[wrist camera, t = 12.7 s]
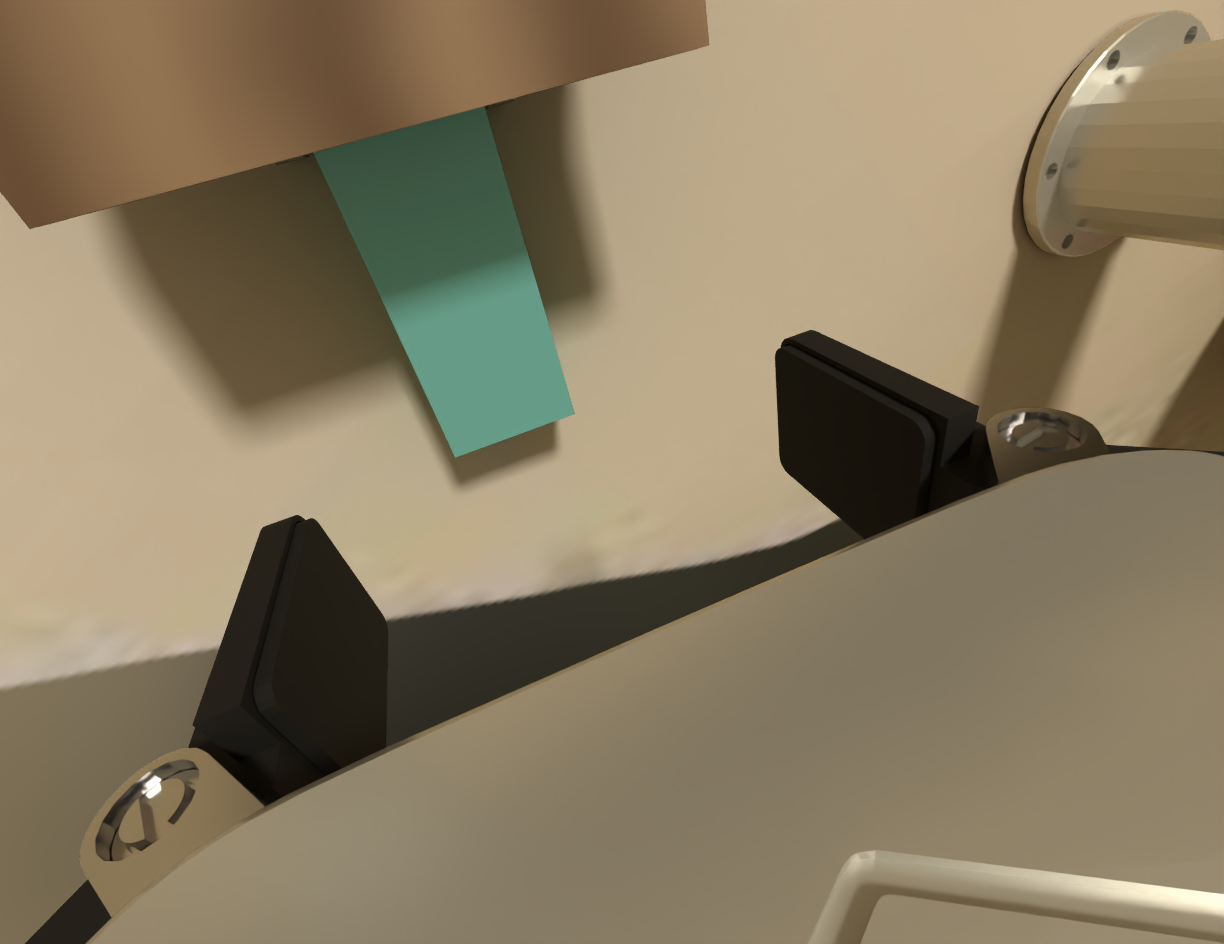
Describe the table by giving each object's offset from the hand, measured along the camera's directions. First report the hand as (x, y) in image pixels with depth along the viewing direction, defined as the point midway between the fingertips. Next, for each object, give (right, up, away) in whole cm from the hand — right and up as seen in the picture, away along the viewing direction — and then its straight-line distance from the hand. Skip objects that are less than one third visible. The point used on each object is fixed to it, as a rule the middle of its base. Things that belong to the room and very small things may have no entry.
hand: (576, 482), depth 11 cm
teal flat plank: (-7, +11, +13) cm, 19 cm away
